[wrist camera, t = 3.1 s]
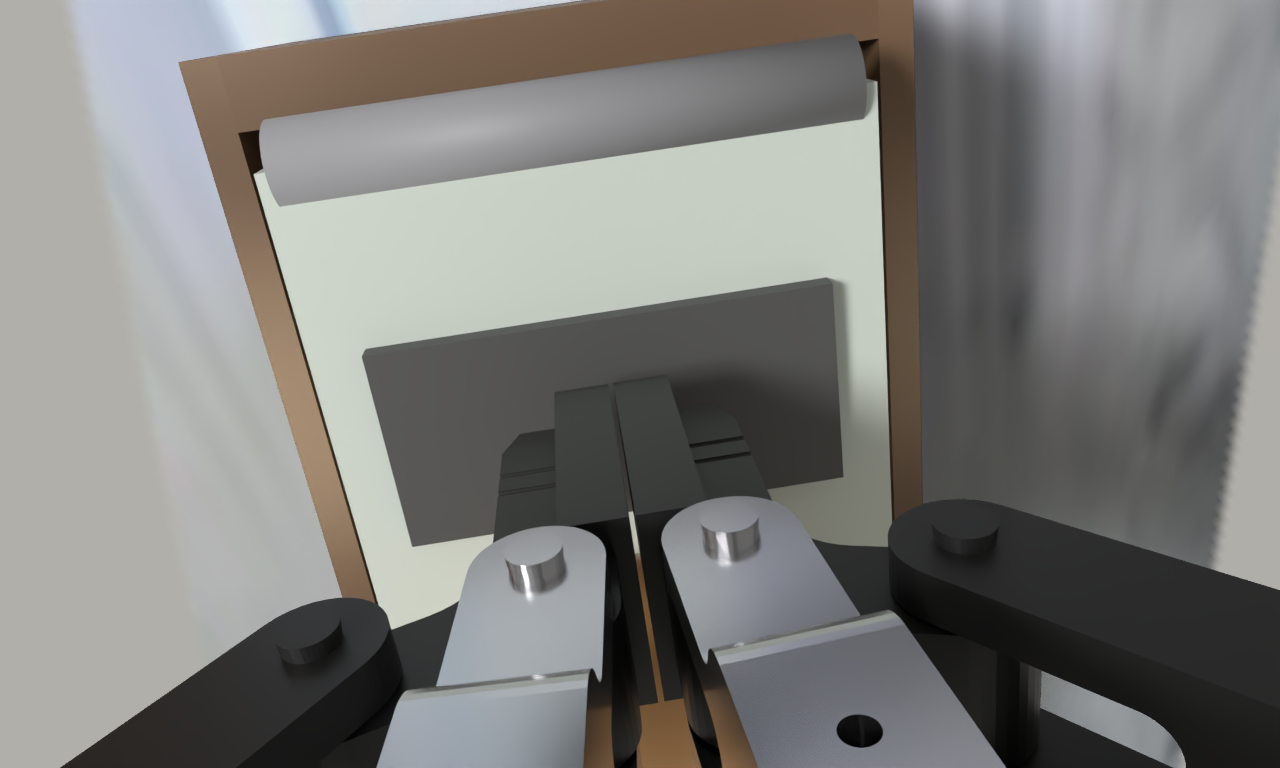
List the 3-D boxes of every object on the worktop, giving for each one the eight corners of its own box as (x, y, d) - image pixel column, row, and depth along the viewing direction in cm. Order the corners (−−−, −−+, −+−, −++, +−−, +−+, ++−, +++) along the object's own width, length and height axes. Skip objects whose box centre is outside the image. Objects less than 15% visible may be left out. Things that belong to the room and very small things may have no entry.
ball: (463, 601, 15) (435, 807, 11) (670, 450, 14) (715, 615, 10) (623, 751, 16) (646, 979, 12) (817, 620, 15) (904, 820, 12)
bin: (291, 42, 18) (178, 61, 13) (803, -32, 18) (912, -45, 13) (477, 756, 25) (457, 971, 20) (846, 693, 25) (929, 887, 20)
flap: (261, 116, 13) (231, 128, 11) (852, 29, 13) (883, 33, 12) (421, 686, 16) (411, 741, 15) (876, 609, 17) (901, 657, 15)
